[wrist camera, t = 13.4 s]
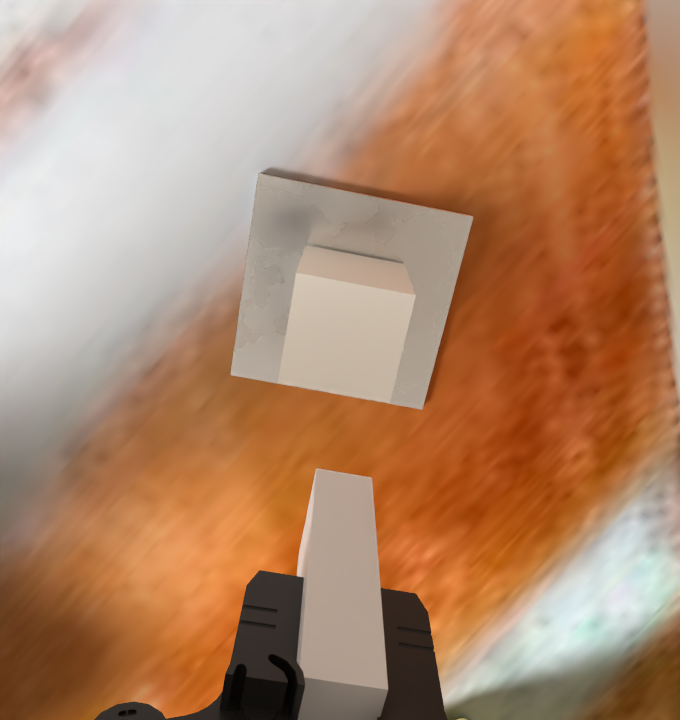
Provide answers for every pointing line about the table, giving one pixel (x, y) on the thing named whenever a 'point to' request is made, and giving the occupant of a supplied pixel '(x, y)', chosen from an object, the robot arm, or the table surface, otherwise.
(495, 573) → the table surface
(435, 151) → the table surface
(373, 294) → the cream cube
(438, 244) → the square grey base plate
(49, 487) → the table surface
